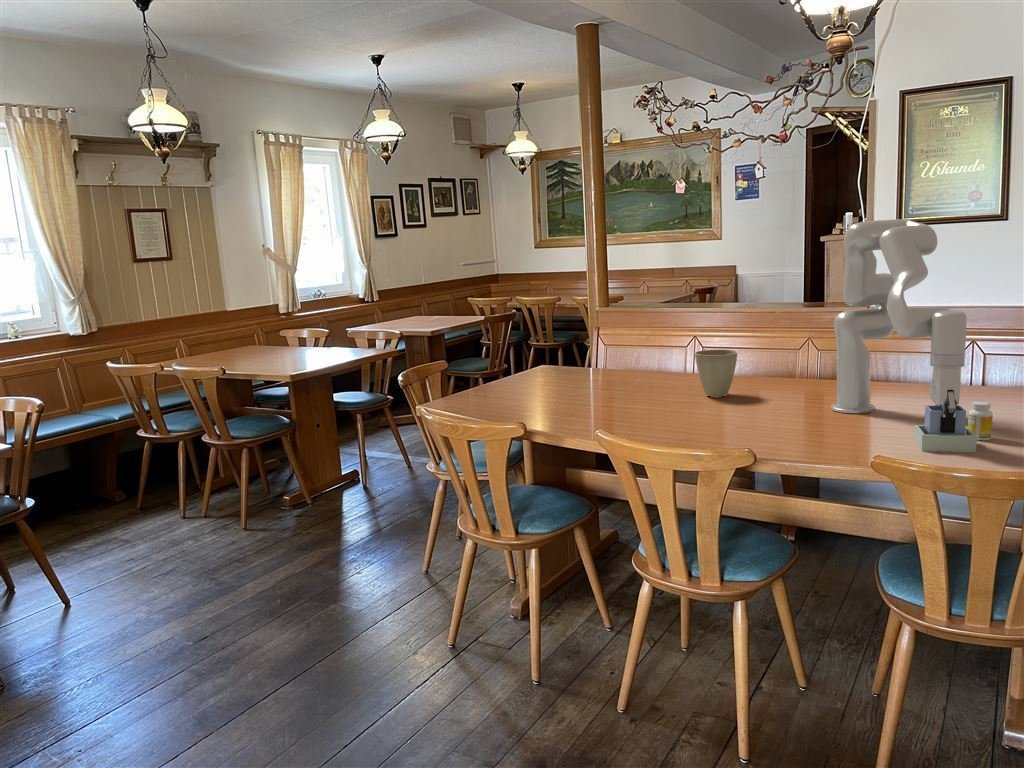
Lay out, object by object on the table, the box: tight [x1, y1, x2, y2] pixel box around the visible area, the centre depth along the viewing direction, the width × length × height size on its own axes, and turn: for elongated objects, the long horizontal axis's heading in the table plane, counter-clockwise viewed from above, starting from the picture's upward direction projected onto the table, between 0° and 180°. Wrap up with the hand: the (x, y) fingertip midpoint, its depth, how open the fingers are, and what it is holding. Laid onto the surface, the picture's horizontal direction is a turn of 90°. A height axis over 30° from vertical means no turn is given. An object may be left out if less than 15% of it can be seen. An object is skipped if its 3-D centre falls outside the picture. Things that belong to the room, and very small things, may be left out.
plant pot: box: [694, 349, 738, 397], centre depth 267 cm, size 15×15×16 cm
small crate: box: [924, 404, 967, 434], centre depth 190 cm, size 6×8×6 cm
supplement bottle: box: [967, 400, 994, 441], centre depth 194 cm, size 5×5×10 cm
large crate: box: [913, 424, 978, 453], centre depth 190 cm, size 10×12×4 cm
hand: (944, 428), depth 190 cm, fingers closed on small crate, 6 cm apart
